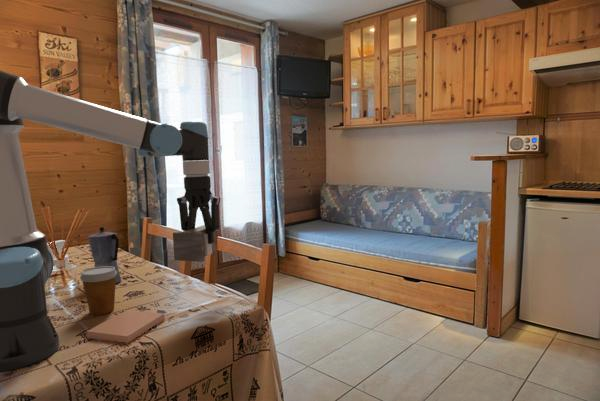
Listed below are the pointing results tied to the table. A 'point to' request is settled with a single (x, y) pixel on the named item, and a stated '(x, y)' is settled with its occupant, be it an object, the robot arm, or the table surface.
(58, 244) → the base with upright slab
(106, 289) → the disposable coffee cup
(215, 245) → the tan flared wedge
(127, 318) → the tile
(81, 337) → the table surface
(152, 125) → the robot arm
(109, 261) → the moka pot
